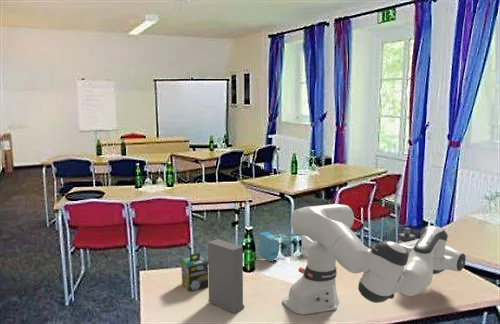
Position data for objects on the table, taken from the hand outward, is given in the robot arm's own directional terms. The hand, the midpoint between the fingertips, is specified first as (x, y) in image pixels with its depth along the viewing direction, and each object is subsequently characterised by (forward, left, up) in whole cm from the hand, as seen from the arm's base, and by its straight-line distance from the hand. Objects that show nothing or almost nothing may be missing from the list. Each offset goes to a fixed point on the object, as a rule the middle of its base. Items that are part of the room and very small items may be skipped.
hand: (405, 240), depth 210 cm
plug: (0, -1, -7) cm, 7 cm away
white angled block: (-23, +42, -16) cm, 51 cm away
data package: (-43, +47, -16) cm, 66 cm away
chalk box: (-87, +34, -16) cm, 95 cm away
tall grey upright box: (-83, +11, -16) cm, 86 cm away
